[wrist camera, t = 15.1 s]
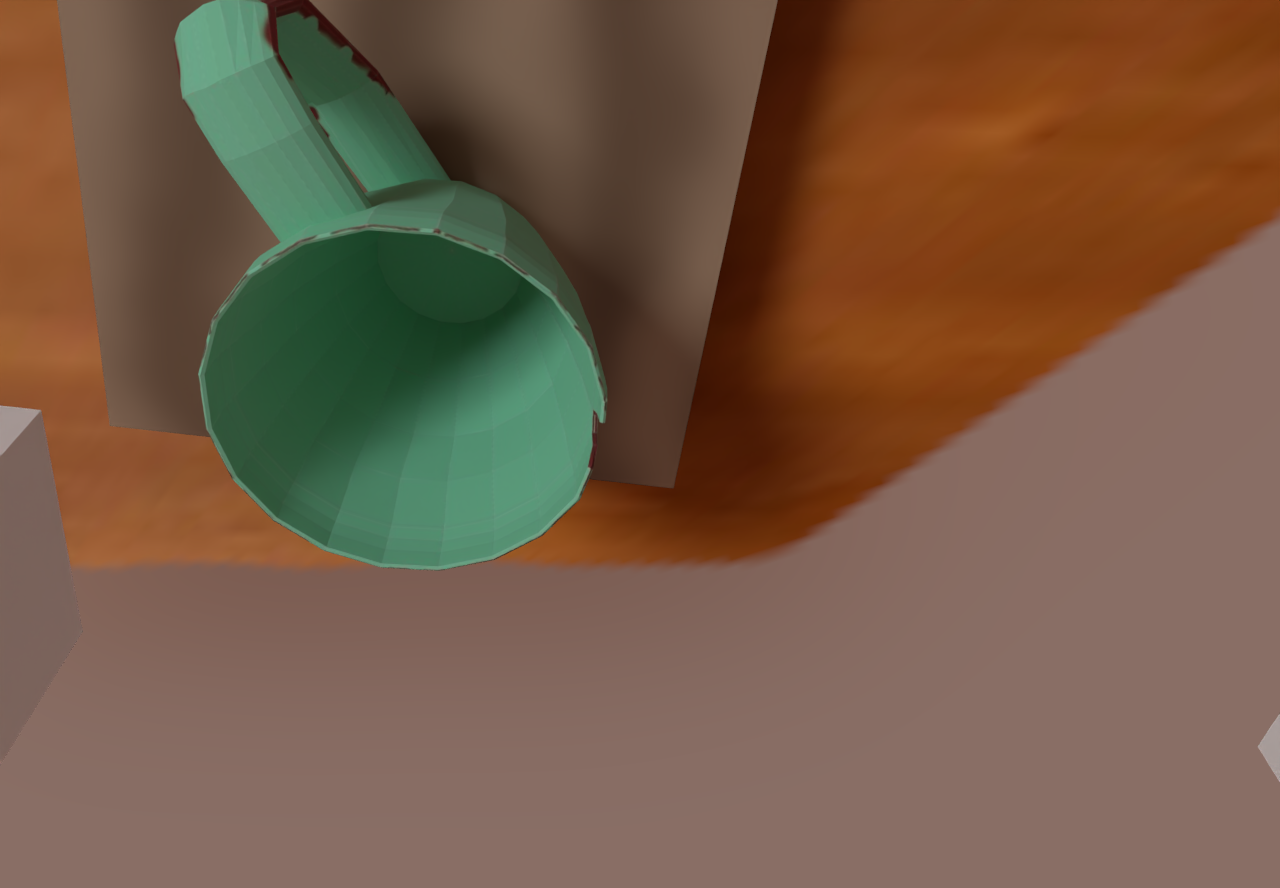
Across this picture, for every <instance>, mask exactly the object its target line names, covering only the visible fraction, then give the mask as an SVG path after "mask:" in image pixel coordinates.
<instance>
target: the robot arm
mask: <svg viewBox="0 0 1280 888" xmlns="http://www.w3.org/2000/svg"><path fill="white" fill-rule="evenodd" d="M82 632H83V631H82V626H81V620H80V615H79V610H78V604H77V599H76V593H75V588H74V583H73V578H72V572H71V567H70V561H69V556H68V551H67V545H66V540H65V535H64V529H63V524H62V519H61V513H60V508H59V503H58V497H57V492H56V487H55V481H54V476H53V471H52V465H51V460H50V455H49V449H48V444H47V439H46V433H45V428H44V423H43V417H42V412H41V410H35V409H26V408H17V407H8V406H0V764H1V763H2V761H3V760H4V758H5V756H6V755H7V753H8V752H9V750H10V748H11V747H12V745H13V743H14V742H15V740H16V739H17V737H18V735H19V733H20V732H21V730H22V729H23V727H24V725H25V724H26V722H27V721H28V719H29V718H30V716H31V714H32V713H33V711H34V709H35V708H36V706H37V705H38V703H39V701H40V700H41V698H42V697H43V695H44V693H45V692H46V690H47V688H48V687H49V685H50V684H51V682H52V680H53V678H54V677H55V675H56V674H57V672H58V671H59V669H60V667H61V666H62V664H63V663H64V661H65V659H66V658H67V656H68V654H69V653H70V651H71V650H72V648H73V646H74V645H75V643H76V642H77V640H78V638H79V637H80V635H81V633H82ZM1258 748H1259V749H1260V751H1261V753H1262V754H1263V756H1264V758H1265V759H1266V761H1267V762H1268V764H1269V766H1270V767H1271V769H1272V770H1273V772H1274V774H1275V775H1276V777H1277V778H1278V780H1279V782H1280V714H1279V715H1278V717H1277V718H1276V720H1275V721H1274V723H1273V724H1272V726H1271V727H1270V729H1269V730H1268V732H1267V733H1266V735H1265V736H1264V738H1263V739H1262V741H1261V742H1260V744H1259V745H1258Z"/></svg>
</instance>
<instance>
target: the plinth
mask: <svg viewBox="0 0 1280 888" xmlns="http://www.w3.org/2000/svg"><path fill="white" fill-rule="evenodd" d="M212 1H215V0H57V3H58V11H59V19H60V28H61V36H62V44H63V52H64V60H65V68H66V76H67V84H68V92H69V100H70V108H71V116H72V124H73V132H74V140H75V149H76V157H77V165H78V173H79V181H80V189H81V197H82V205H83V213H84V221H85V229H86V237H87V245H88V253H89V261H90V270H91V278H92V286H93V294H94V302H95V310H96V318H97V326H98V334H99V342H100V350H101V358H102V366H103V374H104V382H105V391H106V399H107V407H108V415H109V423H110V426H116V427H125V428H134V429H143V430H152V431H161V432H170V433H179V434H188V435H197V436H206V437H210V435H209V433H208V432H207V430H206V425H205V418H204V411H203V404H202V397H201V390H200V383H199V376H198V373H199V369H200V365H201V361H202V357H203V353H204V349H205V345H206V341H207V336H208V332H209V328H210V324H211V320H212V318H213V317H214V315H215V314H216V313H217V311H218V310H219V308H220V307H221V305H222V304H223V303H224V301H225V300H226V299H227V297H228V296H229V295H230V293H231V292H232V290H233V289H234V288H235V286H236V285H237V284H238V282H239V281H240V280H241V278H242V277H243V276H244V274H245V273H246V272H247V270H248V269H249V268H250V266H251V265H252V264H253V262H254V261H255V260H256V259H257V258H258V257H259V256H260V255H262V254H263V253H265V252H266V251H268V250H270V249H271V248H273V247H274V246H276V245H278V244H279V243H281V242H280V241H279V240H278V238H277V237H276V236H275V234H274V233H273V231H272V230H271V229H270V227H269V226H268V225H267V223H266V222H265V221H264V219H263V218H262V216H261V215H260V214H259V212H258V211H257V210H256V208H255V207H254V206H253V204H252V203H251V202H250V200H249V199H248V197H247V196H246V195H245V193H244V192H243V191H242V189H241V188H240V187H239V185H238V184H237V183H236V181H235V180H234V178H233V177H232V176H231V174H230V173H229V172H228V170H227V169H226V168H225V166H224V165H223V163H222V162H221V161H220V159H219V157H218V156H217V154H216V153H215V151H214V149H213V148H212V146H211V145H210V143H209V141H208V140H207V138H206V137H205V135H204V133H203V132H202V130H201V128H200V127H199V125H198V124H197V122H196V120H195V119H194V117H193V116H192V114H191V112H190V111H189V109H188V108H187V106H186V104H185V103H184V101H183V99H182V93H181V86H180V80H179V74H178V68H177V61H176V55H175V49H174V39H175V36H176V32H177V30H178V27H179V24H180V22H181V21H182V20H184V19H185V18H186V17H187V16H189V15H190V14H191V13H193V12H194V11H195V10H197V9H198V8H199V7H201V6H202V5H203V4H206V3H209V2H212ZM309 1H310V2H311V3H312V4H313V5H314V6H315V7H316V8H317V9H318V10H319V11H320V12H321V13H322V14H323V15H324V16H325V17H326V18H327V19H328V20H329V21H330V22H331V23H332V24H333V25H334V26H335V27H336V28H337V29H338V30H339V31H340V32H341V33H342V34H343V35H344V36H345V37H346V38H347V39H348V41H349V42H350V43H351V44H352V45H353V46H354V47H355V48H356V49H357V50H358V51H359V52H360V53H361V54H362V55H363V56H364V57H365V58H366V59H367V60H368V61H369V62H370V63H371V64H372V65H373V66H374V67H375V68H376V69H377V70H378V71H379V73H380V74H381V76H382V77H383V79H384V80H385V82H386V83H387V85H388V86H389V88H390V89H391V91H392V92H393V94H394V95H395V97H396V98H397V100H398V101H399V103H400V104H401V106H402V107H403V109H404V110H405V112H406V113H407V115H408V117H409V118H410V120H411V121H412V123H413V124H414V126H415V127H416V129H417V130H418V132H419V133H420V135H421V136H422V138H423V139H424V141H425V142H426V144H427V145H428V147H429V148H430V150H431V151H432V153H433V154H434V156H435V157H436V159H437V160H438V162H439V163H440V165H441V166H442V168H443V169H444V171H445V172H446V174H447V175H448V177H449V178H450V180H451V181H462V182H465V183H467V184H470V185H472V186H475V187H477V188H480V189H482V190H485V191H487V192H490V193H493V194H495V195H497V196H498V197H499V198H501V199H502V200H503V201H504V202H506V203H507V204H508V205H509V206H511V207H512V208H513V209H515V210H516V211H517V212H518V213H520V214H521V215H522V216H523V217H525V219H526V220H527V221H528V222H529V223H530V224H531V225H532V227H533V228H534V229H535V230H536V231H537V232H538V233H539V235H540V236H541V238H542V239H543V241H544V242H545V244H546V245H547V247H548V248H549V250H550V251H551V252H552V254H553V255H554V257H555V258H556V260H557V261H558V263H559V264H560V266H561V267H562V269H563V270H564V272H565V273H566V275H567V277H568V279H569V280H570V282H571V284H572V285H573V287H574V289H575V290H576V292H577V294H578V297H579V299H580V302H581V305H582V307H583V310H584V313H585V315H586V318H587V320H588V322H589V324H590V326H591V329H592V333H593V337H594V340H595V344H596V347H597V351H598V355H599V358H600V362H601V366H602V369H603V373H604V376H605V380H606V385H607V410H606V420H605V423H604V424H602V423H600V422H599V418H598V427H597V437H598V448H597V452H596V457H595V462H594V467H593V471H592V473H591V475H590V477H589V479H593V480H602V481H611V482H620V483H629V484H638V485H647V486H656V487H665V488H674V484H675V479H676V474H677V470H678V465H679V460H680V456H681V451H682V446H683V442H684V437H685V432H686V428H687V423H688V418H689V414H690V409H691V404H692V400H693V395H694V390H695V385H696V381H697V376H698V371H699V367H700V362H701V357H702V353H703V348H704V343H705V339H706V334H707V329H708V325H709V320H710V315H711V310H712V306H713V301H714V296H715V292H716V287H717V282H718V278H719V273H720V268H721V264H722V259H723V254H724V250H725V245H726V240H727V236H728V231H729V226H730V221H731V217H732V212H733V207H734V203H735V198H736V193H737V189H738V184H739V179H740V175H741V170H742V165H743V161H744V156H745V151H746V147H747V142H748V137H749V132H750V128H751V123H752V118H753V114H754V109H755V104H756V100H757V95H758V90H759V86H760V81H761V76H762V72H763V67H764V62H765V58H766V53H767V48H768V43H769V39H770V34H771V29H772V25H773V20H774V15H775V11H776V6H777V1H778V0H309ZM336 151H337V150H336ZM337 152H338V151H337ZM338 154H339V153H338ZM339 155H340V154H339ZM340 157H341V155H340ZM341 158H342V157H341ZM342 160H343V161H344V159H343V158H342ZM344 163H345V164H346V166H347V168H348V169H349V171H350V172H351V174H352V175H353V177H354V178H355V180H356V181H357V183H358V184H359V186H360V188H361V189H362V191H363V192H364V193H366V192H368V191H367V189H366V188H365V187H364V185H363V184H362V183H361V182H360V180H359V179H358V178H357V176H356V175H355V174H354V172H353V171H352V170H351V168H350V167H349V166H348V165H347V163H346V162H345V161H344Z"/></svg>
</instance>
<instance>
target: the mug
mask: <svg viewBox="0 0 1280 888" xmlns="http://www.w3.org/2000/svg"><path fill="white" fill-rule="evenodd" d="M174 49H175V55H176V61H177V68H178V74H179V80H180V86H181V93H182V99H183V101H184V103H185V104H186V106H187V108H188V109H189V111H190V112H191V114H192V116H193V117H194V119H195V120H196V122H197V124H198V125H199V127H200V128H201V130H202V132H203V133H204V135H205V137H206V138H207V140H208V141H209V143H210V145H211V146H212V148H213V149H214V151H215V153H216V154H217V156H218V157H219V159H220V161H221V162H222V163H223V165H224V166H225V168H226V169H227V170H228V172H229V173H230V174H231V176H232V177H233V178H234V180H235V181H236V183H237V184H238V185H239V187H240V188H241V189H242V191H243V192H244V193H245V195H246V196H247V197H248V199H249V200H250V202H251V203H252V204H253V206H254V207H255V208H256V210H257V211H258V212H259V214H260V215H261V216H262V218H263V219H264V221H265V222H266V223H267V225H268V226H269V227H270V229H271V230H272V231H273V233H274V234H275V236H276V237H277V238H278V240H279V241H280V242H281V243H279V244H278V245H276V246H274V247H273V248H271V249H270V250H268V251H266V252H265V253H263V254H262V255H260V256H259V257H258V258H257V259H256V260H255V261H254V262H253V264H252V265H251V266H250V268H249V269H248V270H247V272H246V273H245V274H244V276H243V277H242V278H241V280H240V281H239V282H238V284H237V285H236V286H235V288H234V289H233V290H232V292H231V293H230V295H229V296H228V297H227V299H226V300H225V301H224V303H223V304H222V305H221V307H220V308H219V310H218V311H217V313H216V314H215V315H214V317H213V318H212V320H211V324H210V328H209V332H208V336H207V341H206V345H205V349H204V353H203V357H202V361H201V365H200V369H199V373H198V376H199V383H200V390H201V397H202V404H203V411H204V418H205V425H206V430H207V432H208V433H209V435H210V437H211V439H212V441H213V443H214V445H215V447H216V449H217V451H218V453H219V454H220V456H221V458H222V460H223V462H224V464H225V466H226V468H227V470H228V472H229V474H230V475H231V477H232V479H233V480H234V481H235V482H236V483H237V484H238V485H239V486H240V487H241V488H242V489H243V490H244V491H245V492H246V493H247V494H248V495H249V496H250V497H251V498H252V499H253V500H254V502H255V503H256V504H257V505H258V506H259V507H260V508H261V509H262V510H263V511H264V512H265V513H266V514H267V515H268V516H269V517H270V518H271V519H272V520H273V521H275V522H277V523H278V524H280V525H282V526H283V527H285V528H287V529H288V530H290V531H292V532H294V533H295V534H297V535H299V536H300V537H302V538H304V539H305V540H307V541H309V542H311V543H312V544H314V545H316V546H317V547H319V548H321V549H322V550H324V551H327V552H331V553H334V554H337V555H341V556H344V557H347V558H351V559H354V560H357V561H361V562H364V563H367V564H371V565H374V566H377V567H381V568H399V569H417V570H436V571H439V570H445V569H450V568H455V567H460V566H465V565H470V564H476V563H481V562H486V561H491V560H495V559H497V558H499V557H501V556H503V555H505V554H507V553H509V552H511V551H513V550H515V549H517V548H519V547H521V546H523V545H525V544H527V543H529V542H531V541H533V540H535V539H537V538H539V537H541V536H543V535H544V534H545V533H546V532H547V531H548V530H549V529H550V528H551V527H552V526H553V525H554V524H555V523H556V522H557V521H558V520H559V519H560V518H561V517H562V516H563V515H564V514H565V513H566V512H567V511H568V510H569V509H571V508H572V507H573V506H574V505H575V504H576V503H577V502H578V501H579V500H580V498H581V496H582V493H583V491H584V489H585V486H586V484H587V482H588V480H589V477H590V475H591V473H592V471H593V467H594V462H595V457H596V452H597V448H598V437H597V427H598V418H599V422H600V423H602V424H604V423H605V420H606V410H607V385H606V380H605V376H604V373H603V369H602V366H601V362H600V358H599V355H598V351H597V347H596V344H595V340H594V337H593V333H592V329H591V326H590V324H589V322H588V320H587V318H586V315H585V313H584V310H583V307H582V305H581V302H580V299H579V297H578V294H577V292H576V290H575V289H574V287H573V285H572V284H571V282H570V280H569V279H568V277H567V275H566V273H565V272H564V270H563V269H562V267H561V266H560V264H559V263H558V261H557V260H556V258H555V257H554V255H553V254H552V252H551V251H550V250H549V248H548V247H547V245H546V244H545V242H544V241H543V239H542V238H541V236H540V235H539V233H538V232H537V231H536V230H535V229H534V228H533V227H532V225H531V224H530V223H529V222H528V221H527V220H526V219H525V217H523V216H522V215H521V214H520V213H518V212H517V211H516V210H515V209H513V208H512V207H511V206H509V205H508V204H507V203H506V202H504V201H503V200H502V199H501V198H499V197H498V196H497V195H495V194H493V193H490V192H487V191H485V190H482V189H480V188H477V187H475V186H472V185H470V184H467V183H465V182H462V181H451V180H450V178H449V177H448V175H447V174H446V172H445V171H444V169H443V168H442V166H441V165H440V163H439V162H438V160H437V159H436V157H435V156H434V154H433V153H432V151H431V150H430V148H429V147H428V145H427V144H426V142H425V141H424V139H423V138H422V136H421V135H420V133H419V132H418V130H417V129H416V127H415V126H414V124H413V123H412V121H411V120H410V118H409V117H408V115H407V113H406V112H405V110H404V109H403V107H402V106H401V104H400V103H399V101H398V100H397V98H396V97H395V95H394V94H393V92H392V91H391V89H390V88H389V86H388V85H387V83H386V82H385V80H384V79H383V77H382V76H381V74H380V73H379V71H378V70H377V69H376V68H375V67H374V66H373V65H372V64H371V63H370V62H369V61H368V60H367V59H366V58H365V57H364V56H363V55H362V54H361V53H360V52H359V51H358V50H357V49H356V48H355V47H354V46H353V45H352V44H351V43H350V42H349V41H348V39H347V38H346V37H345V36H344V35H343V34H342V33H341V32H340V31H339V30H338V29H337V28H336V27H335V26H334V25H333V24H332V23H331V22H330V21H329V20H328V19H327V18H326V17H325V16H324V15H323V14H322V13H321V12H320V11H319V10H318V9H317V8H316V7H315V6H314V5H313V4H312V3H311V2H310V1H309V0H215V1H212V2H209V3H206V4H203V5H202V6H201V7H199V8H198V9H197V10H195V11H194V12H193V13H191V14H190V15H189V16H187V17H186V18H185V19H184V20H182V21H181V22H180V24H179V27H178V30H177V32H176V36H175V39H174ZM336 150H337V151H338V152H337V151H336ZM338 153H339V154H340V155H341V157H342V158H343V159H344V161H345V162H346V163H347V165H348V166H349V167H350V168H351V170H352V171H353V172H354V174H355V175H356V176H357V178H358V179H359V180H360V182H361V183H362V184H363V185H364V187H365V188H366V189H367V191H368V192H366V193H364V192H363V191H362V189H361V188H360V186H359V184H358V183H357V181H356V180H355V178H354V177H353V175H352V174H351V172H350V171H349V169H348V168H347V166H346V164H345V163H344V161H343V160H342V158H341V157H340V155H339V154H338Z"/></svg>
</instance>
